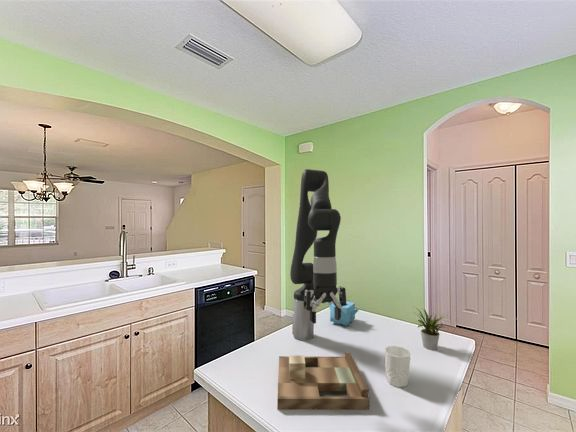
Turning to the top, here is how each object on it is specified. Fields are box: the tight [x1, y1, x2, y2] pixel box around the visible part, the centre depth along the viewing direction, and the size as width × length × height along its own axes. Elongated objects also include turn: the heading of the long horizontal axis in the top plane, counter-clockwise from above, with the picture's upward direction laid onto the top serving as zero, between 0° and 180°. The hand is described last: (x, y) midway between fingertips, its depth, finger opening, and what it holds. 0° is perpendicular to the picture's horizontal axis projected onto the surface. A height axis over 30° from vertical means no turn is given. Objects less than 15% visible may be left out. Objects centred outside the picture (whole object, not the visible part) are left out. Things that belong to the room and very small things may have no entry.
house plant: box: [413, 306, 447, 351], centre depth 119 cm, size 14×14×16 cm
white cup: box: [384, 345, 411, 388], centre depth 93 cm, size 8×8×10 cm
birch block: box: [288, 355, 305, 379], centre depth 91 cm, size 5×5×5 cm
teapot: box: [327, 299, 360, 328], centre depth 145 cm, size 16×18×11 cm
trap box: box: [276, 352, 370, 410], centre depth 91 cm, size 26×24×5 cm
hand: (325, 321), depth 90 cm, fingers open, 8 cm apart
